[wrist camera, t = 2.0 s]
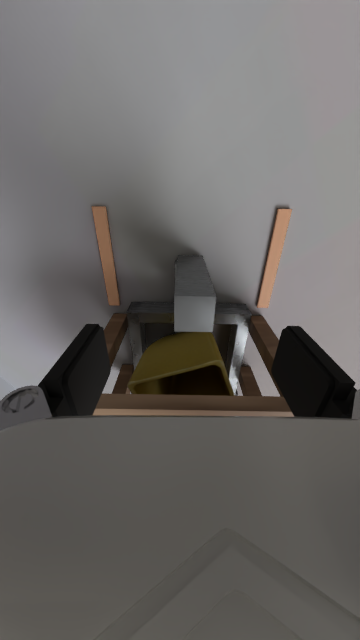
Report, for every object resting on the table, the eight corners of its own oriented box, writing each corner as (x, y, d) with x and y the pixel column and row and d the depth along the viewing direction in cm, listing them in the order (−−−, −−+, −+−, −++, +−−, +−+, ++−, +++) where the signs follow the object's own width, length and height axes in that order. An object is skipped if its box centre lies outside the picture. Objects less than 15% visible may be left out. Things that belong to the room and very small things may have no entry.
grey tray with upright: (126, 254, 21) (86, 294, 13) (254, 256, 21) (304, 298, 13) (140, 383, 31) (123, 459, 22) (230, 384, 30) (250, 461, 22)
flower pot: (168, 378, 30) (163, 440, 23) (141, 329, 26) (124, 385, 19) (228, 362, 29) (244, 423, 21) (209, 308, 25) (222, 359, 17)
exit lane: (92, 206, 20) (91, 206, 19) (290, 209, 19) (292, 209, 19) (109, 304, 25) (109, 305, 24) (267, 306, 24) (267, 307, 24)
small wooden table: (111, 311, 25) (52, 407, 14) (264, 314, 25) (333, 412, 14) (122, 374, 30) (85, 482, 19) (249, 376, 30) (290, 486, 19)
